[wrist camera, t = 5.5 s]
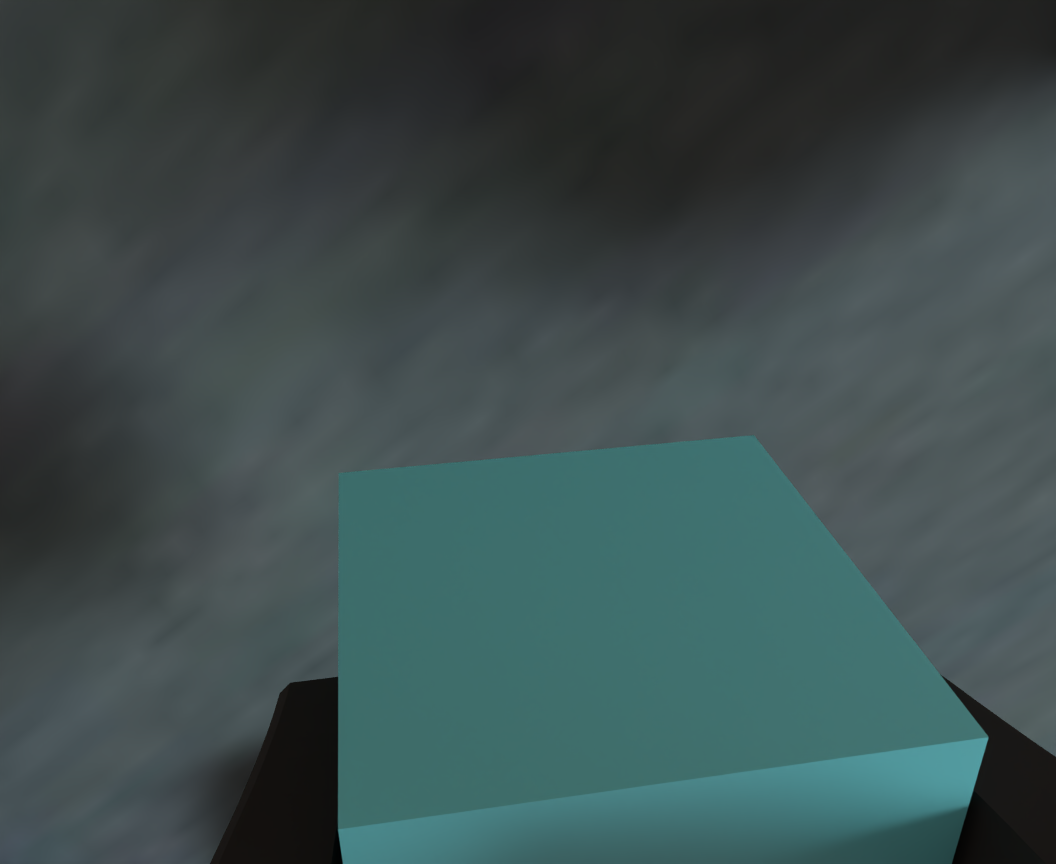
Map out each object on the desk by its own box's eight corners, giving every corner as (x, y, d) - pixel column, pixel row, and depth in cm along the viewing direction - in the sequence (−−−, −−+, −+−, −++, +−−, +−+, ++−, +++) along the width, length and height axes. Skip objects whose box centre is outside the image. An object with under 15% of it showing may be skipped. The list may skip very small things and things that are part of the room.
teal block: (753, 435, 11) (988, 737, 7) (719, 735, 13) (883, 1095, 9) (338, 473, 10) (339, 830, 6) (374, 781, 12) (390, 1192, 8)
